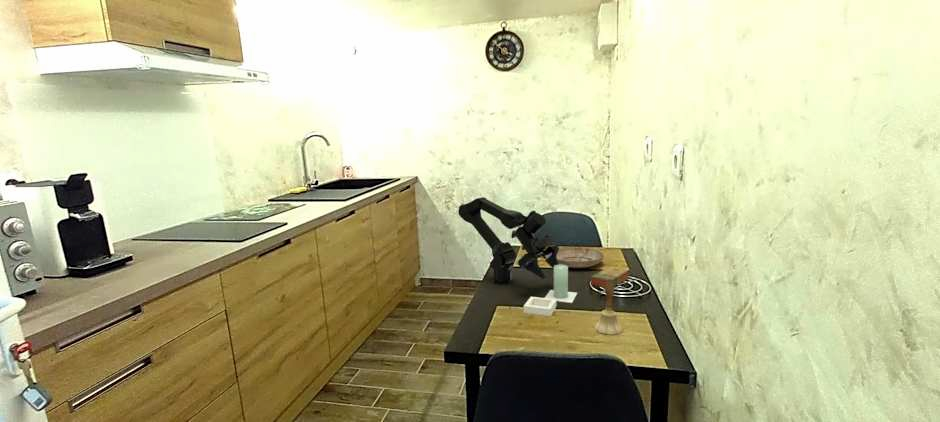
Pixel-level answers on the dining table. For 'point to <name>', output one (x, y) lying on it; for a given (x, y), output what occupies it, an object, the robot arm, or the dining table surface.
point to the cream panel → (569, 299)
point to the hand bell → (608, 314)
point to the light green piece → (560, 281)
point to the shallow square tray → (540, 306)
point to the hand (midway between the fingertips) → (551, 274)
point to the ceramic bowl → (579, 257)
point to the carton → (609, 276)
